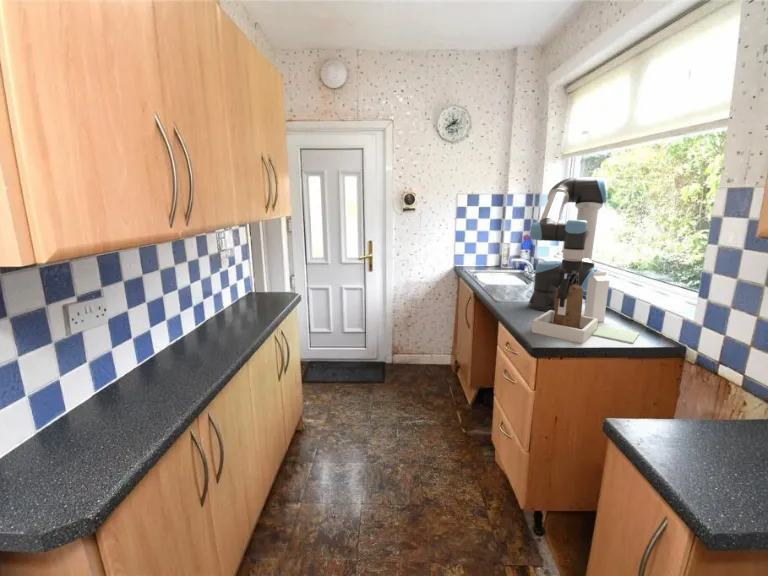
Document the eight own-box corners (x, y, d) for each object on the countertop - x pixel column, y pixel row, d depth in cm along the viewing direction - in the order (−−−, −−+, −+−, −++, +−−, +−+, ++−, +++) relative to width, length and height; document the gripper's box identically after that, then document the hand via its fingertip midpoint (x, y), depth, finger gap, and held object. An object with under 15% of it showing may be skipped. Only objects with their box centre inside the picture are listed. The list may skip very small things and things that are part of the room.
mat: (600, 326, 166) (601, 325, 166) (639, 334, 157) (639, 332, 157) (592, 335, 156) (592, 334, 156) (632, 343, 147) (632, 342, 147)
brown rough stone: (580, 335, 156) (586, 287, 151) (562, 335, 155) (567, 287, 151) (566, 326, 166) (571, 281, 162) (549, 327, 166) (554, 281, 161)
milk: (604, 321, 173) (611, 273, 168) (591, 322, 173) (597, 273, 168) (595, 317, 179) (602, 270, 174) (583, 317, 179) (589, 270, 174)
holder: (549, 320, 175) (550, 309, 174) (596, 330, 162) (598, 318, 161) (531, 332, 160) (532, 320, 159) (582, 343, 147) (584, 331, 146)
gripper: (572, 255, 166) (566, 303, 170) (552, 262, 147) (546, 315, 152) (591, 256, 161) (585, 306, 166) (573, 264, 143) (566, 319, 147)
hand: (566, 310), depth 159 cm, fingers open, 13 cm apart
